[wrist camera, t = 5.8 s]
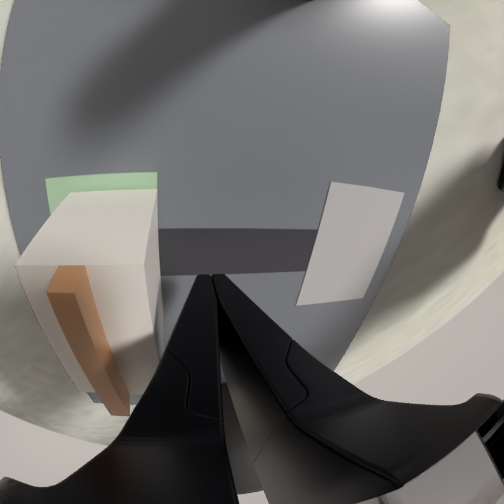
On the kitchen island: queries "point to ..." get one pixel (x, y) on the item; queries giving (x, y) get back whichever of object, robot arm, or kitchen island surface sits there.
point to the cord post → (238, 449)
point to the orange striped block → (100, 291)
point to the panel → (233, 139)
